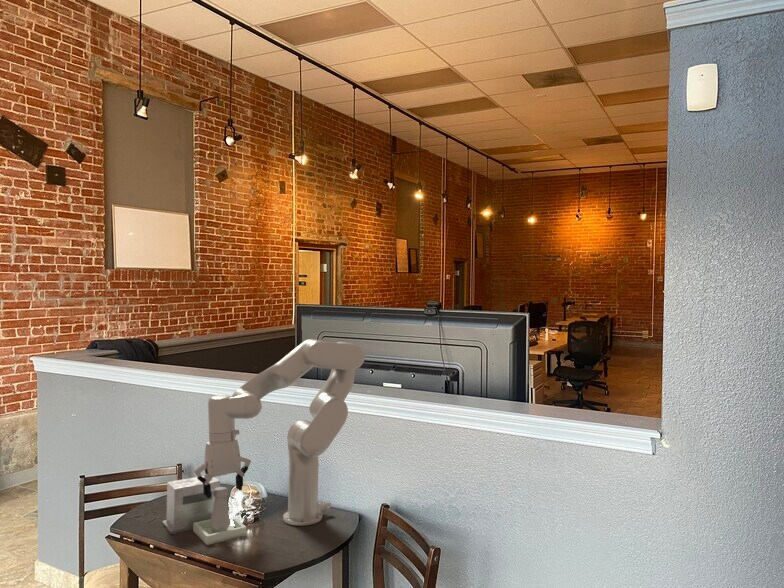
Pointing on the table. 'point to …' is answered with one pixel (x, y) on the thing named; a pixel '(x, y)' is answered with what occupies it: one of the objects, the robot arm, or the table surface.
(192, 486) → the unit
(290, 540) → the table surface
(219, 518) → the salt shaker
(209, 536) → the tray
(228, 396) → the robot arm
